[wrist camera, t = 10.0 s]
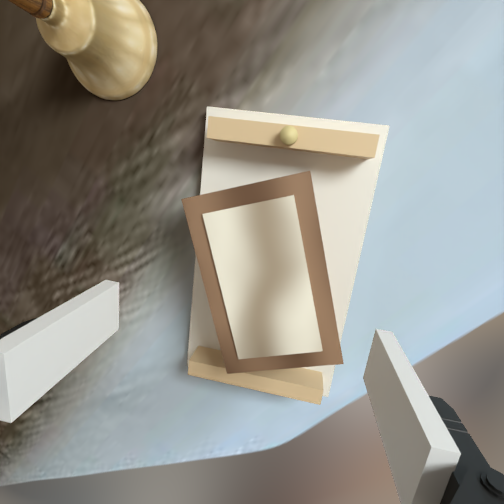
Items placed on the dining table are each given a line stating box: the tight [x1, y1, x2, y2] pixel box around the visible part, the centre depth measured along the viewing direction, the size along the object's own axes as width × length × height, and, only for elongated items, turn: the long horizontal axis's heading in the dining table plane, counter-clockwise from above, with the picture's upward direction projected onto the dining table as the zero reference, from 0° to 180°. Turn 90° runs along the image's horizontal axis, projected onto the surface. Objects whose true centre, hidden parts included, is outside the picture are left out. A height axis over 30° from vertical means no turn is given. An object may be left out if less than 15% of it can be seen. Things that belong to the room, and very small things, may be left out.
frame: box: [182, 171, 343, 374], centre depth 25 cm, size 9×14×5 cm, turn 12°
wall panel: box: [187, 107, 389, 405], centre depth 26 cm, size 14×24×4 cm, turn 172°
